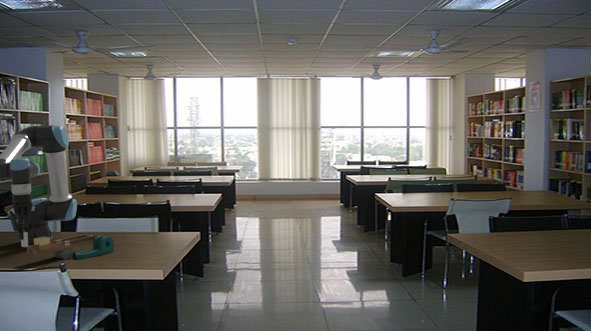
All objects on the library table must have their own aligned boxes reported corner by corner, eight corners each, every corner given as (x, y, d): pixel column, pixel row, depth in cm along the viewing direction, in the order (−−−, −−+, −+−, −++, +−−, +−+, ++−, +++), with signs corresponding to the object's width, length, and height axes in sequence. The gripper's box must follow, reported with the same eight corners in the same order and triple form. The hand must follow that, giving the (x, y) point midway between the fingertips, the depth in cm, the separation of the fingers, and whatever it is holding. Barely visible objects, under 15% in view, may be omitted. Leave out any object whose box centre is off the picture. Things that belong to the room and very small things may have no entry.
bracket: (105, 250, 246) (104, 234, 246) (113, 251, 243) (113, 236, 242) (72, 258, 231) (71, 241, 231) (80, 259, 228) (80, 243, 227)
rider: (34, 249, 223) (33, 238, 223) (44, 247, 227) (44, 236, 227) (39, 250, 221) (39, 239, 221) (50, 248, 225) (49, 237, 225)
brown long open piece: (26, 263, 223) (25, 246, 222) (85, 249, 248) (84, 234, 248) (38, 265, 218) (37, 248, 217) (96, 251, 243) (95, 235, 243)
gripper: (11, 195, 208) (14, 250, 210) (41, 192, 219) (43, 244, 221) (1, 194, 212) (5, 248, 214) (31, 191, 223) (34, 242, 225)
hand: (24, 246), depth 217 cm, fingers closed
